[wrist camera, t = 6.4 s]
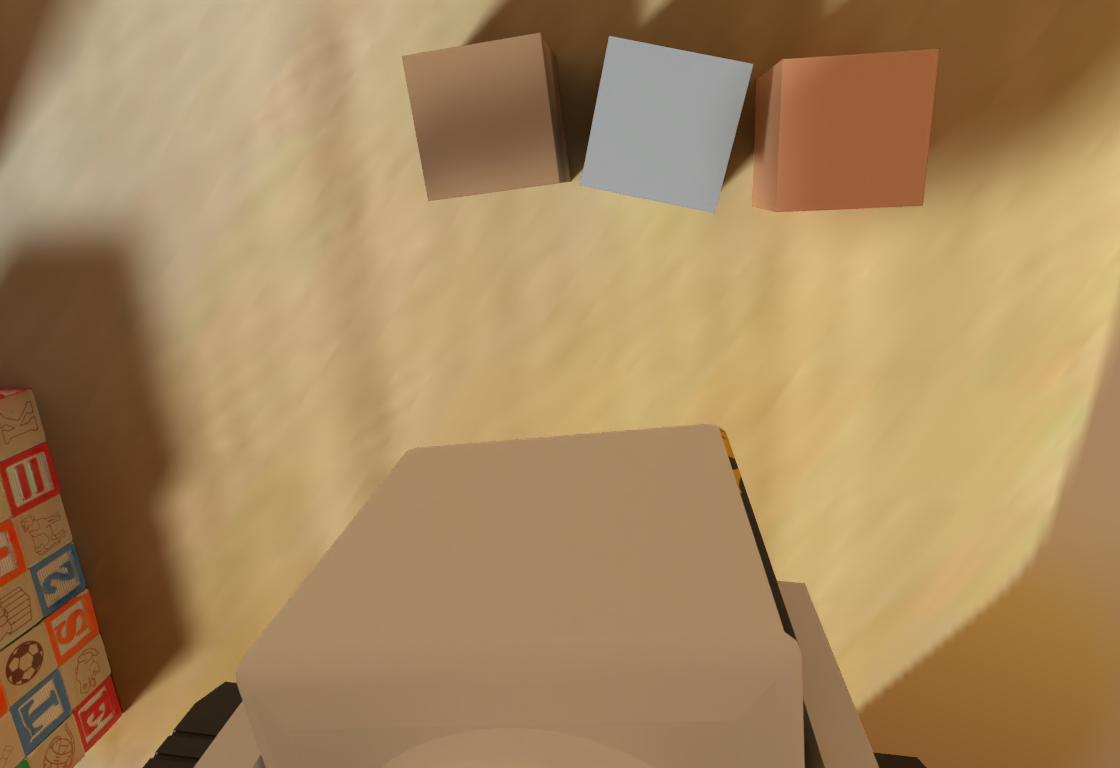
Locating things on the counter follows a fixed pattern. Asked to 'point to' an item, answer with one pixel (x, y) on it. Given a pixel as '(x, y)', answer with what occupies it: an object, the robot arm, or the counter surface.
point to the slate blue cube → (664, 123)
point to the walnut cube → (488, 117)
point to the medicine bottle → (539, 617)
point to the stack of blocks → (44, 610)
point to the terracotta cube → (844, 131)
